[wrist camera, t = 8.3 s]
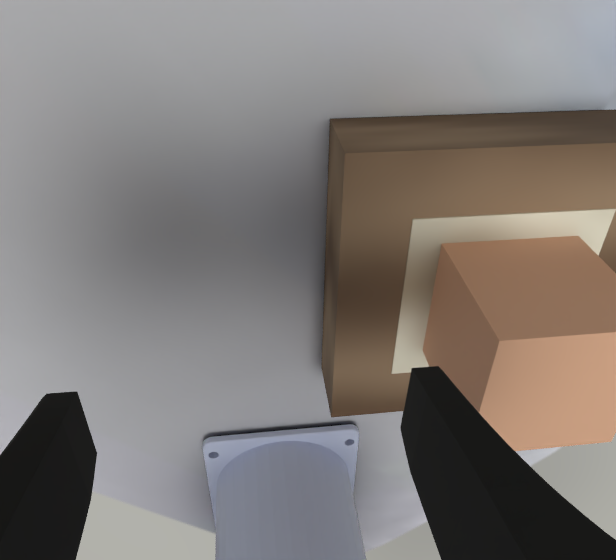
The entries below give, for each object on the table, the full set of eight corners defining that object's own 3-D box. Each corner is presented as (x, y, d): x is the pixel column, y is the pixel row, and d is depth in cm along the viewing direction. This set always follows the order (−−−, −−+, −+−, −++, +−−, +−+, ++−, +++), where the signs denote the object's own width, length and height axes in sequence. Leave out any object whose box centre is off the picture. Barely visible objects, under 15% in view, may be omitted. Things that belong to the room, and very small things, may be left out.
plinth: (561, 348, 27) (594, 394, 25) (321, 367, 26) (331, 418, 24) (652, 108, 20) (710, 139, 18) (329, 118, 19) (345, 153, 17)
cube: (541, 341, 22) (610, 441, 18) (422, 350, 22) (466, 455, 18) (578, 235, 20) (670, 328, 15) (441, 243, 19) (499, 341, 15)
